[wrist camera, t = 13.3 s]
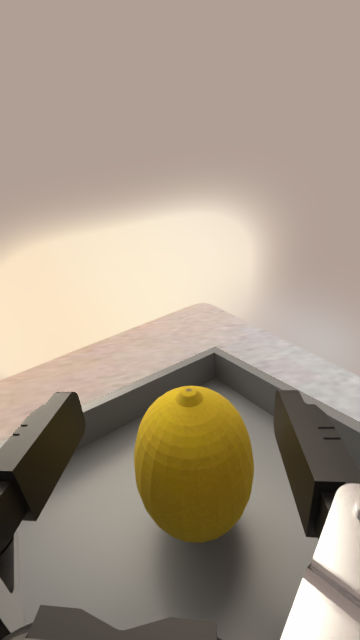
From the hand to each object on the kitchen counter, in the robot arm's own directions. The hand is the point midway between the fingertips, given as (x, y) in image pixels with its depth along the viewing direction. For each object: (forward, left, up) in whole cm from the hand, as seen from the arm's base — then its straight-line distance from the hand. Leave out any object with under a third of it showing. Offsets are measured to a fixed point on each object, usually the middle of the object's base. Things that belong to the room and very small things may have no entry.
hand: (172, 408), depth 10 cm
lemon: (0, +1, -8) cm, 8 cm away
